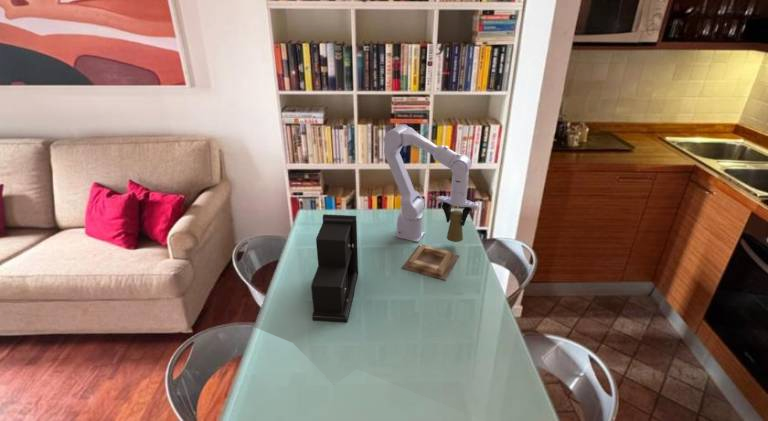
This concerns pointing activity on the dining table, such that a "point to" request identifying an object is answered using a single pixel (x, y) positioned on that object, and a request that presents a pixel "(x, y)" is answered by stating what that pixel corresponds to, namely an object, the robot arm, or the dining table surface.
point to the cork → (455, 226)
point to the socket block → (431, 262)
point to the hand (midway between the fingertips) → (455, 222)
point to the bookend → (335, 268)
